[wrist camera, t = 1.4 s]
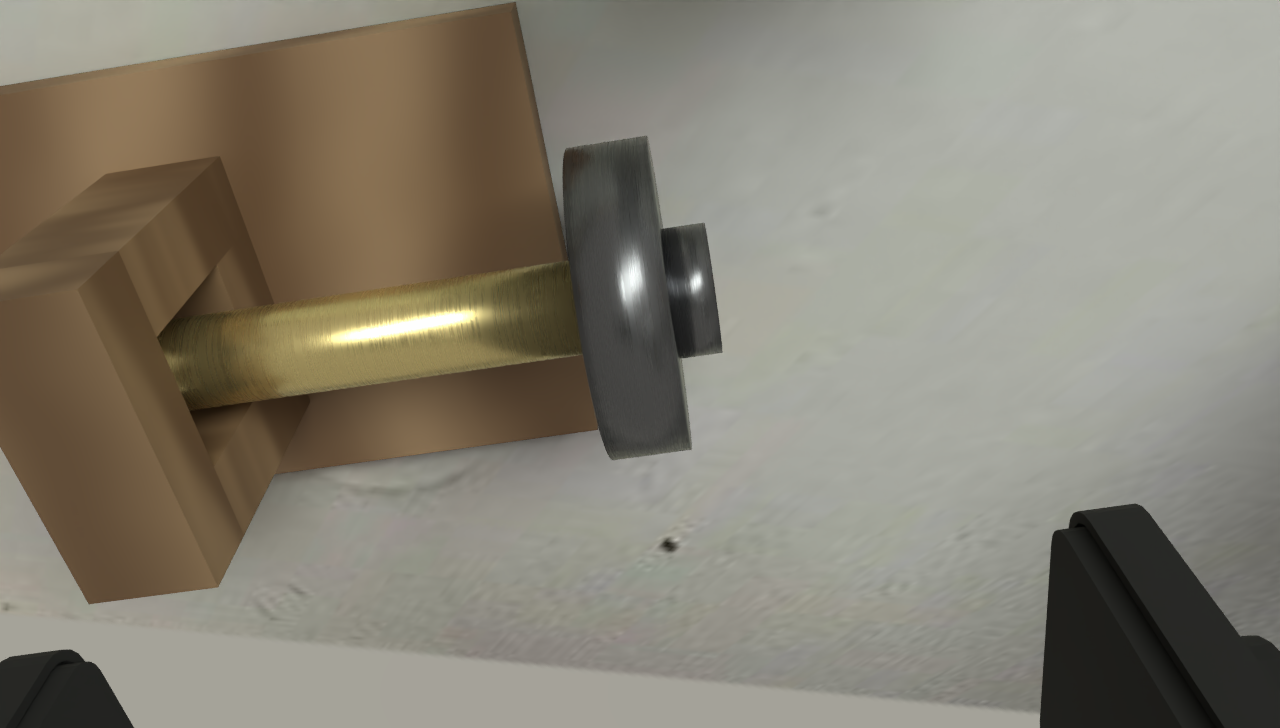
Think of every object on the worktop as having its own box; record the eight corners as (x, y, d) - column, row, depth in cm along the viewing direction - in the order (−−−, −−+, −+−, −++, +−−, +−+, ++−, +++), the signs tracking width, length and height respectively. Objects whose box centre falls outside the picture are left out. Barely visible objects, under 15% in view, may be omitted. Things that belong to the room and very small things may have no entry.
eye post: (515, 2, 25) (469, 101, 17) (598, 407, 31) (591, 618, 23) (-61, 96, 26) (-351, 231, 18) (127, 473, 32) (-33, 697, 24)
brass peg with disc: (684, 91, 25) (706, 196, 18) (717, 347, 28) (745, 508, 22) (24, 194, 26) (-166, 327, 19) (136, 430, 29) (6, 605, 23)
